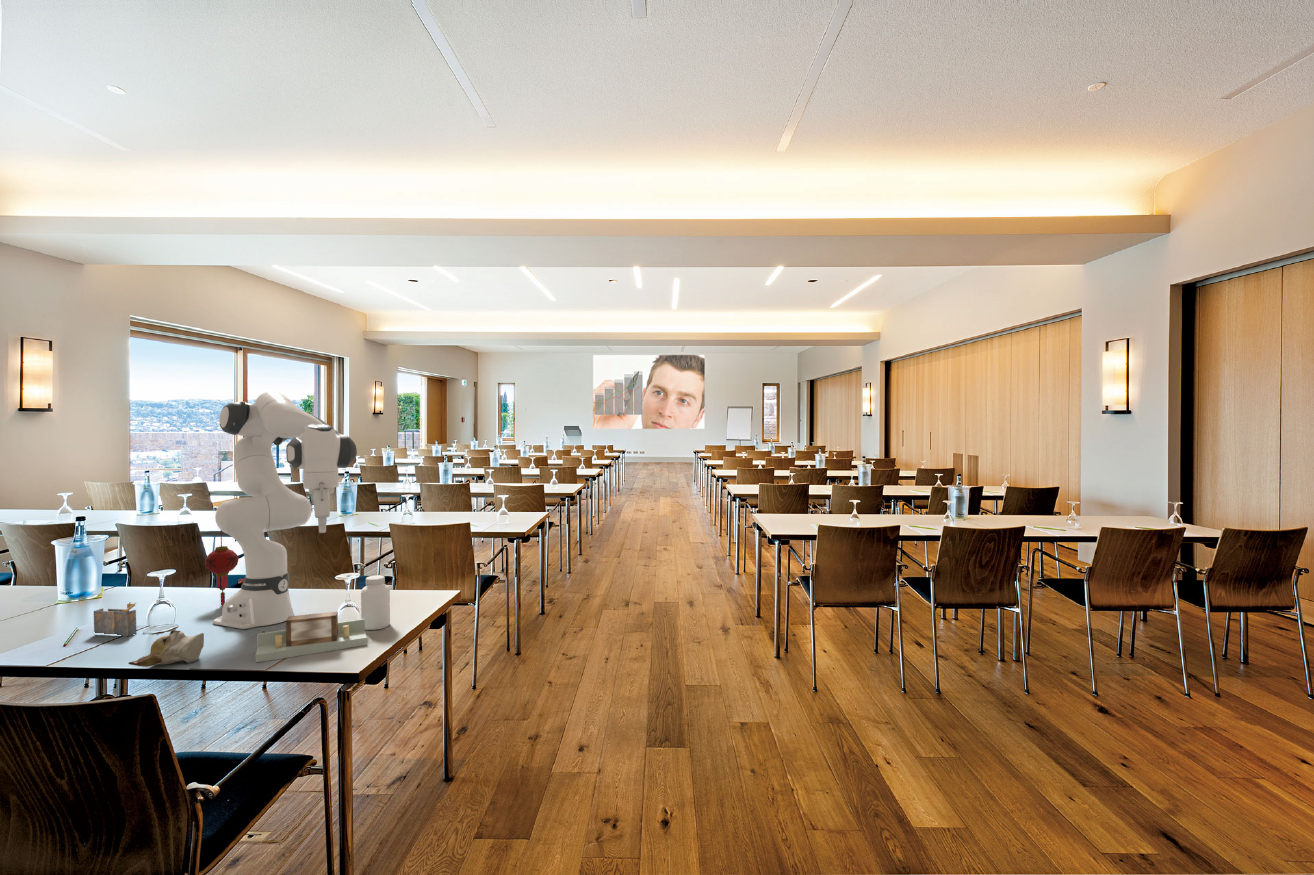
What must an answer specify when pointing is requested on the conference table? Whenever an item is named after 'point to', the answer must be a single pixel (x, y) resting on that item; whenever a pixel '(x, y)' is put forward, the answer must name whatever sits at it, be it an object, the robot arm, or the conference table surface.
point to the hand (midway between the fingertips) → (322, 530)
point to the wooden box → (311, 628)
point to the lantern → (221, 566)
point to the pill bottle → (375, 603)
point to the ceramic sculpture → (173, 649)
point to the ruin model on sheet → (116, 621)
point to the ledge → (275, 644)
